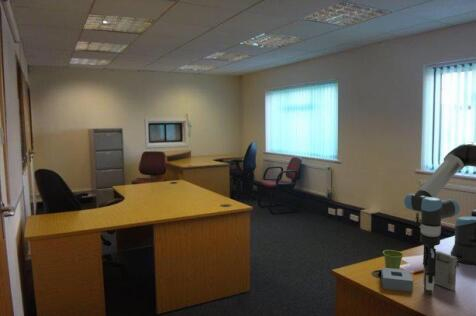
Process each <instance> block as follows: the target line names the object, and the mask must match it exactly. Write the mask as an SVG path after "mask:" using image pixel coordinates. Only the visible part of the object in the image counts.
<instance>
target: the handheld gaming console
mask: <svg viewBox="0 0 476 316" xmlns="http://www.w3.org/2000/svg"><path fill="white" fill-rule="evenodd" d="M457 263H458V262H457V257H455V256H452V255H450V254H448V253H445V252H442V251H439V250H436V267H435V276H434V284H435V285H438V286H440V287H443V288H446V289H448V290H451V291H455V290H456V282H457Z"/></svg>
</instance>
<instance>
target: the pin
mask: <svg viewBox="0 0 476 316" xmlns="http://www.w3.org/2000/svg"><path fill="white" fill-rule="evenodd" d="M424 269H425V274H427V266H425V268H424ZM425 274H424V273H423V277H424V283H423V294H424V295H426V296H432V295H433V290H426V275H425Z"/></svg>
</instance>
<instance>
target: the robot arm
mask: <svg viewBox="0 0 476 316" xmlns="http://www.w3.org/2000/svg"><path fill="white" fill-rule="evenodd" d="M465 167H475V168H476V142H466V143H465V142H464V143H463V144H460V145H458V146H456V147H455V148H453V149H452V150H451V151H449V152H447V154H446V155H445V156H444V157H443V162H442V163H441V164H440V165H439V166H438V168H436V170H435V171H434V172H433V173H432V174H431V175H430V176H429V177H428V179H427V180H426V181H425V182H424V183H423V184H422V186H421V187H420V188H419V189H418V191H416V192H415V193H408V194H406V195H405V197H404V200H403V202H404V203H403V204H404V206H405V208H406V209H408V210H411V211H414V212H419V213H421V214H420V215H421V216H420V217H421V218H420V220H421V221H420V225H419V227H418V228H419V229H420V234H419V235H420V238H419V241H420V242H421V244H423V257H422V265H423V275H424V274H425V266H427V274H425V275H426V290H432V291H434V286H435V285H434V284H435V283H434V276H435V267H436V251H437V249H436V248H435V246H439V245H440V244H441V232H442V224H441V223H442V220H443V219H446V218H452V217H454V216H456V215H458V214H459V213H460V209H461V208H460V204H459V203H458V201H456V200H455V199H452V198H445V199H442V198H439V197H437V196H438V195H439V194H440V192H441V191H443V189H444V188H445V186H446V185H447V184H448V183H449V182H450V180H452V178H453V177H454V176H455V175H456V174H457V173H458V171H462V170H463V169H464V168H465ZM454 226H455V227H454V244H453V246H452V248H451V251H450V254H451V255H452V256H455V257H457V260H458V262H457V263H460V264H463V265H464V264H465V265H469V266H470V265H471V266H476V216H469V215H468V216H460V217H457V218H456V220H455V224H454ZM450 254H449V255H450ZM422 278H423V280H422V281H423V284H424V276H423V277H422Z"/></svg>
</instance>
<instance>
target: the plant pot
mask: <svg viewBox="0 0 476 316" xmlns="http://www.w3.org/2000/svg"><path fill="white" fill-rule="evenodd" d="M382 254H383V257H384V263H385V268H392V269H401V268H400V267H401V261H402V258H403V257H404V254H403V252H401V251H398V250H393V249H384V250H383V251H382Z"/></svg>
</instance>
